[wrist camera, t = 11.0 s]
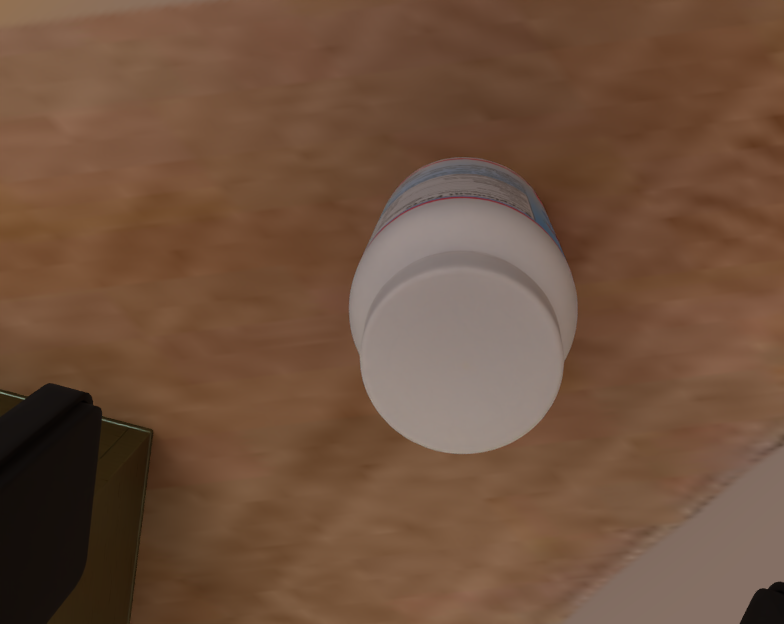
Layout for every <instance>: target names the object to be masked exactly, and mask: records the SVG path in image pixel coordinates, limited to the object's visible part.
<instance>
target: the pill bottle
mask: <svg viewBox="0 0 784 624" xmlns="http://www.w3.org/2000/svg"><path fill="white" fill-rule="evenodd" d="M577 317H578V304H577V294H576V288H575V284H574V280H573V277H572V273H571V270H570V268H569V265H568V263H567V261H566V258H565V256H564V253H563V251H562V249H561V246H560V244H559V241H558V239H557V237H556V235H555V232H554V230H553V227H552V225H551V223H550V221H549V218H548V215H547V213H546V211H545V208H544V206H543V204H542V202H541V200H540V199H539V197H538V196H537V194H536V192H535V191H534V190H533V188H532V187H531V186H530V185H529V184H528V183H527V182H526V181H525V180H524V179H523V178H522V177H521V176H520V175H518V174H517V173H516V172H514V171H513V170H511V169H509V168H507V167H505V166H503V165H501V164H498V163H496V162H493V161H489V160H485V159H479V158H469V157H456V158H448V159H442V160H439V161H435V162H432V163H430V164H428V165H425V166H423V167H421V168H420V169H418V170H416V171H415V172H413V173H412V174H411V175H409V176H408V177H407V178H406V179H405V180H404V181H403V182H402V183H401V184H400V185H399V186H398V187H397V188H396V190H395V191H394V192H393V194H392V195H391V197H390V198H389V200H388V202H387V204H386V206H385V208H384V210H383V212H382V214H381V217H380V219H379V221H378V223H377V225H376V227H375V229H374V231H373V234H372V236H371V238H370V240H369V242H368V245H367V247H366V249H365V251H364V253H363V256H362V258H361V260H360V262H359V264H358V267H357V270H356V273H355V276H354V279H353V282H352V286H351V291H350V298H349V319H350V327H351V333H352V336H353V340H354V343H355V346H356V348H357V350H358V353H359V355H360V368H361V374H362V379H363V383H364V386H365V389H366V391H367V394H368V396H369V398H370V400H371V402H372V403H373V405H374V407H375V408H376V410H377V411H378V413H379V414H380V415H381V416H382V417H383V418H384V420H385V421H386V422H387V423H388V424H389V425H390V426H391V427H392V428H393V429H394V430H396V431H397V432H398V433H400V434H401V435H403V436H404V437H406V438H407V439H409V440H411V441H412V442H415V443H417V444H419V445H421V446H424V447H426V448H429V449H432V450H436V451H440V452H446V453H453V454H473V453H482V452H487V451H490V450H494V449H497V448H500V447H503V446H505V445H508V444H510V443H512V442H514V441H516V440H517V439H519V438H521V437H522V436H524V435H525V434H526V433H528V432H529V431H530V430H531V429H533V428H534V427H535V426H536V425H537V424H538V423H539V422H540V421H541V420H542V419H543V418H544V416H545V415H546V413H547V412H548V410H549V409H550V407H551V406H552V404H553V402H554V400H555V398H556V396H557V393H558V391H559V388H560V385H561V381H562V376H563V368H564V361H565V359H566V357H567V355H568V353H569V351H570V348H571V346H572V342H573V339H574V336H575V331H576V325H577Z"/></svg>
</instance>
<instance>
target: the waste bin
mask: <svg viewBox="0 0 784 624" xmlns="http://www.w3.org/2000/svg"><path fill="white" fill-rule="evenodd" d="M27 397H28V396H24V395H20V394H16V393H12V392H9V391H5V390H1V389H0V417H1V416H2V415H4V414H5V413H6V412H8V411H9V410H11V409H12V408H13V407H15V406H16V405H18V404H19V403H20V402H22V401H23V400H25V399H26V398H27ZM152 438H153V430H152V429H148V428H145V427H141V426H137V425H133V424H130V423H126V422H122V421H118V420H114V419H111V418H107V417H103V416H102V424H101V433H100V442H99V452H98V461H97V470H96V480H95V489H94V498H93V508H92V517H91V526H90V536H89V545H88V554H87V561H86V566H85V569H84V572H83V574H82V577H81V579H80V580H79V582H78V584H77V585H76V587H75V588H74V590H73V591H72V592H71V593H70V595H69V596H68V597H67V598H66V600H65V601H64V602H63V604H62V605H61V606H60V607H59V609H58V610H57V611H56V612H55V614H54V615H53V616H52V617H51V619H50V620H49V621H48V622H47V624H130V617H131V609H132V601H133V592H134V584H135V576H136V568H137V560H138V552H139V544H140V536H141V528H142V519H143V511H144V503H145V495H146V487H147V479H148V471H149V463H150V455H151V446H152Z"/></svg>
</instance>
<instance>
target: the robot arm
mask: <svg viewBox="0 0 784 624" xmlns="http://www.w3.org/2000/svg"><path fill="white" fill-rule="evenodd" d="M101 424H102V410H101V408H100V407H98V406H94V405H93V400H92V396H91V395H90V394H89V393H86V392H82V391H78V390H75V389H71V388H67V387H64V386H60V385H56V384H51V383H48V384H46V385H44V386H43V387H41V388H40V389H38V390H37V391H36V392H34V393H33V394H31V395H30V396H29V397H27V398H26V399H25V400H23V401H22V402H20V403H19V404H18V405H16V406H15V407H13V408H12V409H11V410H9V411H8V412H6V413H5V414H4V415H2V416H1V417H0V624H47V622H48V621H49V620H50V619H51V617H52V616H53V615H54V614H55V612H56V611H57V610H58V609H59V607H60V606H61V605H62V604H63V602H64V601H65V600H66V598H67V597H68V596H69V595H70V593H71V592H72V591H73V590H74V588H75V587H76V585H77V584H78V582H79V580H80V579H81V577H82V574H83V572H84V569H85V566H86V561H87V554H88V545H89V536H90V526H91V517H92V508H93V498H94V489H95V480H96V470H97V461H98V452H99V442H100V433H101ZM740 624H784V582H776V583H774V584H772V585H771V586H770V587H769V588H768V589H764V588H762V589H759V590H758V591H757V592H756V593H755V594H754V596H753V598H752V600H751V602H750V604H749V606H748V608H747V610H746V612H745V614H744V616H743V618H742V620H741V622H740Z"/></svg>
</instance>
